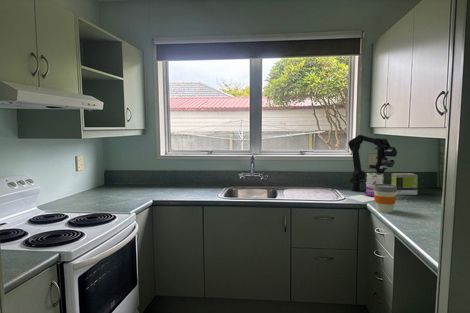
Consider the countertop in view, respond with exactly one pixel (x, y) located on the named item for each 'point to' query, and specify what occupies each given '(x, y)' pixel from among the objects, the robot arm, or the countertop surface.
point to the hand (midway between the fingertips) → (380, 177)
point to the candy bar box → (373, 182)
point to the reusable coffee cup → (385, 197)
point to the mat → (361, 198)
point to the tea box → (405, 183)
